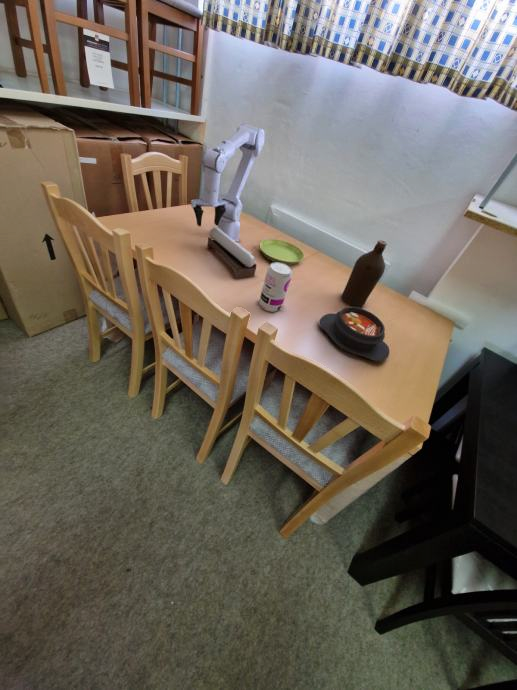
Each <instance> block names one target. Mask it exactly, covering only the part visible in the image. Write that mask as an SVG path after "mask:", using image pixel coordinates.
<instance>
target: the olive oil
mask: <svg viewBox="0 0 517 690" xmlns="http://www.w3.org/2000/svg"><path fill="white" fill-rule="evenodd" d="M387 245H388V243H387V242H386V241H384V240H381V239H379V240H377V243H376V244H375V246H374V247H373V250H371V251H368V252H365V253H364V254H362V255H360V256H359V257H358V258H357V259H356V260H355V263H354V266H353V268H352V270H351V273H350V275H349V278H348V279H347V283H346V284H345V286H344V288H343V292H342V293H341V296H340V299H341V301H342V302H343V303H344V304H345V305H347V306H348V307H357V308H361V309H362V308H363V307H364V306H365V304H366V302H367V301H368V299H369V297H370V295H371V294H372V292H373V291H374V289H375V287H376V286H377V284H378V283H379V281H380V280H381V278H382V276H383V275H384V273H385V270H386V263H385V260H384V259H385V258H384V256H383V253H384V251H385V249H386V246H387Z"/></svg>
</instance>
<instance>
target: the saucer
mask: <svg viewBox="0 0 517 690" xmlns="http://www.w3.org/2000/svg"><path fill="white" fill-rule="evenodd" d="M259 249H260V251H261V253H262V254H263V256H264V257H265V258H266V259H267V260H269V261H271V262H272V263H275V262H278V263H283V264H286V265H288V266H292V265H295V264H298V263H300V262H301V261H302V260H304V259H305V254H304V252H303V251H302V249H300V248H299V247H298V246H297V245H294V244H293V243H291V242H288V241H286V240H282V239H277V238H266V239H263V240H261V241H260V243H259Z"/></svg>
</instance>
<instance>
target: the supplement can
mask: <svg viewBox="0 0 517 690" xmlns="http://www.w3.org/2000/svg"><path fill="white" fill-rule="evenodd" d="M292 272H293V271H292V268H291V266H290V265H286V264H283V263H278V262H271V264H270V265H269V266H268V268H267V269H266V272H265V277H264V281H263V285H262V288H261V293H260V296H259V299H258V305H259V306H260V307H261V308H262V309H263V310H264V311H266V312H270V313H275V312H278V311H280V310H282V308H283V305H284V302H285V299H286V295H287V293H288V290H289V287H290V283H291V280H292V278H293V273H292Z"/></svg>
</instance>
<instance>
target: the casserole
mask: <svg viewBox="0 0 517 690" xmlns="http://www.w3.org/2000/svg"><path fill="white" fill-rule="evenodd" d="M318 321H319V322H318V325H319V326H320V328H321V329H322V331H324V332H325V333H326V334H327V335H328V336H329V337H330V339H331V340H332V341H333V342H334V343H335V344H336V345H337V346H339V347H340V348H341V349H342V350H344V351H346V352H348V353H351V354H353V355H357V356H360V357H364V358H366V359H369V360H371V361H374V362H383V361H384V360H385V361H386V359H387V358H389V355H390V347H389V345H388V343H386V342H385V341H384V340H385V337H386V333H385V330H386V328H385V325H384V323H383V322H382V320H381V319H380V318H379V317H377V316H376V314H374V313H372V312H370V311H368V310H367V309H364V308H362V307H361V308H357V307H351V306H346V307H343V308H342V309H340V310H339V311H337V312H336V313H335V312H332V313H326V314H324V315H322V316H321V317H320V318H319V320H318Z"/></svg>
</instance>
